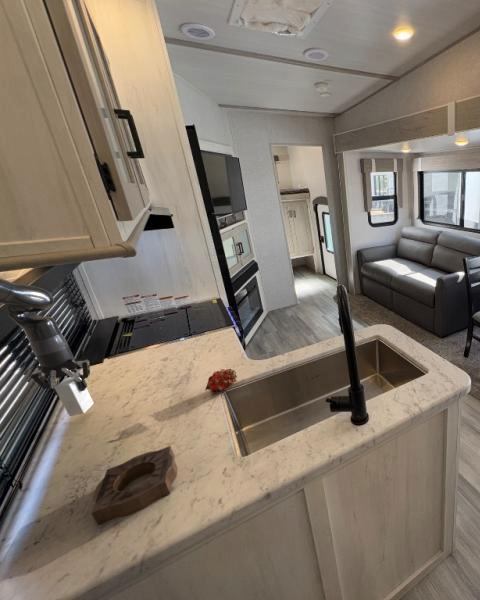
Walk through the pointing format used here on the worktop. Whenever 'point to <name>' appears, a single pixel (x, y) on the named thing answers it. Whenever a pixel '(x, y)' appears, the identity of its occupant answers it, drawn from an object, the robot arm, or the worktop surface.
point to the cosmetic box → (73, 397)
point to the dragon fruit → (221, 380)
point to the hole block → (124, 503)
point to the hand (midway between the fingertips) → (73, 392)
